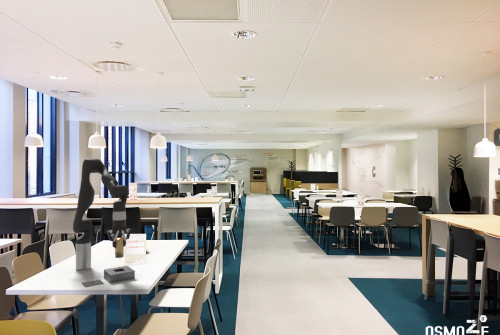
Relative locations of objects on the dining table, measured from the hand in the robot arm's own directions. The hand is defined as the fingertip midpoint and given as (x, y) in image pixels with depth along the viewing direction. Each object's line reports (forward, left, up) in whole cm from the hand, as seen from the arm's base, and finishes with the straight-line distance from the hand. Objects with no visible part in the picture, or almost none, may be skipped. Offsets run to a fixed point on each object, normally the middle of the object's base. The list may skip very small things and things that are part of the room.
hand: (119, 246), depth 214 cm
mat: (+1, -15, -19) cm, 24 cm away
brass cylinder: (0, 0, -6) cm, 6 cm away
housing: (0, 0, -19) cm, 19 cm away
